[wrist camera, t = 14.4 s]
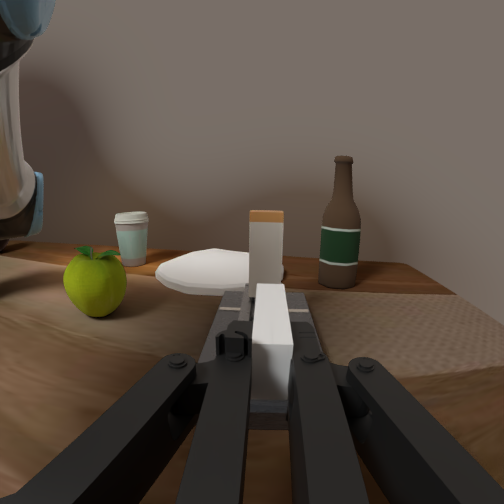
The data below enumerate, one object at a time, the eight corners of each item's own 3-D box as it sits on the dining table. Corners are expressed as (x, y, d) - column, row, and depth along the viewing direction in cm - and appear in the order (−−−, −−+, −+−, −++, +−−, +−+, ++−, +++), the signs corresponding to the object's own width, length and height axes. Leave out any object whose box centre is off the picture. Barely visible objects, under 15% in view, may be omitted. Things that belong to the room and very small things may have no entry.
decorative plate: (131, 263, 52) (199, 241, 75) (133, 284, 53) (199, 257, 76) (256, 283, 43) (295, 250, 66) (255, 309, 44) (294, 268, 67)
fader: (279, 312, 36) (284, 213, 34) (248, 311, 37) (249, 212, 34) (278, 300, 40) (282, 210, 38) (249, 299, 40) (251, 209, 38)
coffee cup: (157, 260, 69) (155, 211, 67) (138, 269, 61) (135, 215, 59) (130, 258, 71) (127, 211, 69) (110, 266, 63) (106, 215, 60)
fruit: (101, 297, 44) (94, 239, 42) (140, 309, 41) (134, 243, 39) (60, 316, 36) (49, 250, 34) (97, 333, 33) (85, 257, 31)
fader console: (335, 427, 19) (344, 395, 19) (184, 423, 20) (178, 390, 19) (302, 304, 45) (304, 282, 44) (225, 302, 45) (224, 280, 44)
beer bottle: (323, 290, 51) (330, 152, 46) (312, 277, 59) (318, 156, 53) (362, 289, 52) (371, 157, 46) (347, 276, 59) (354, 160, 54)
